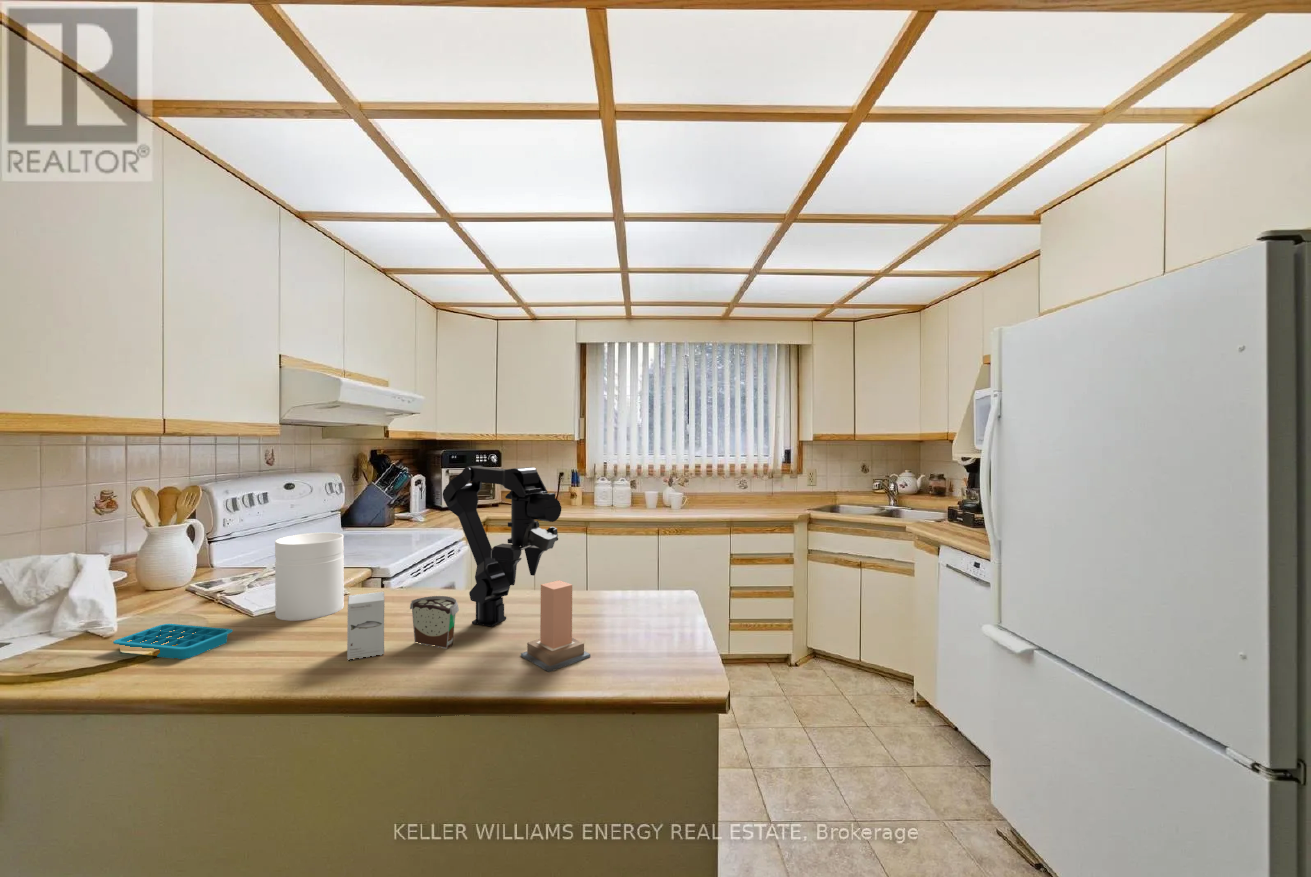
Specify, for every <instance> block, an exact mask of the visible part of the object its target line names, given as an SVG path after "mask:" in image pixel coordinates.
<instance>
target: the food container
mask: <svg viewBox="0 0 1311 877" xmlns="http://www.w3.org/2000/svg"><path fill="white" fill-rule="evenodd" d="M409 610H411V612H412V615H411V616H412V624H413V637H414V643H415V642H418V643H421V644H420V645H422V644H426V645H425V646H428V645H435V646H438V647H437V648H439V647H442V648H441V649H444V650H447V649H449V647H450V646H451V645H452V646H453V643H454V632H455V623H456V622H455V621H456V614H458V612H459V610H460V609H459V603H458V601H457V599H456V598H454V597H452V596H448V595H447V596H445V595H434V596H432V595H431V596H425V597H418V598H416V599H413V600H411V602H410V606H409ZM452 646H451V647H452ZM451 647H450V648H451Z"/></svg>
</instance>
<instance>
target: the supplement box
mask: <svg viewBox="0 0 1311 877" xmlns="http://www.w3.org/2000/svg"><path fill="white" fill-rule="evenodd" d="M346 636H347V637H346V638H347V639H346V640H347V641H346V642H347V643H346V644H347V646H346V647H347V648H346V649H347V650H346V652H347V654H346V657H347V659H348V660H349V659H353V658H359V659H364V658H363V657H366V658H370V656H372V657H377V656H376V655H380V656H383V655H382V654H385V592H384V591H377V592H370V593H369V592H368V593H358V594H351V595H348V598H347V635H346ZM348 660H347V661H348ZM353 660H354V659H353Z"/></svg>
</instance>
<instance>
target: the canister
mask: <svg viewBox="0 0 1311 877" xmlns="http://www.w3.org/2000/svg"><path fill="white" fill-rule="evenodd" d="M344 545H345V544H344V534H342V533H340V532H307V533H299V534H294V535H287V536H284V537H280V538H278V539H275V541H274V558H275V562H274V566H275V567H274V571H275V572H274V579H275V582H274V584H275V585H274V588H275V589H274V591H275V592H274V594H275V598H274V599H275V600H274V601H275V606H274V607H275V608H274V609H275V610H274V612H275V615H274V616H275V618H276V619H278V620H282V621H290V622H295V621H307V620H315V619H318V618H319V619H320V618H323V617H328V616H330V615H333V614H335V613H337V612H340V611H341V610H343V608H344V607H345V604H344V602H345V593H344V592H345V589H344V588H345V586H344V585H345V584H344V583H345V579H344V577H345V573H344V572H345V569H344V568H345V567H344V566H345V565H344V560H345V558H344V551H345V550H344V549H345V548H344Z"/></svg>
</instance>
